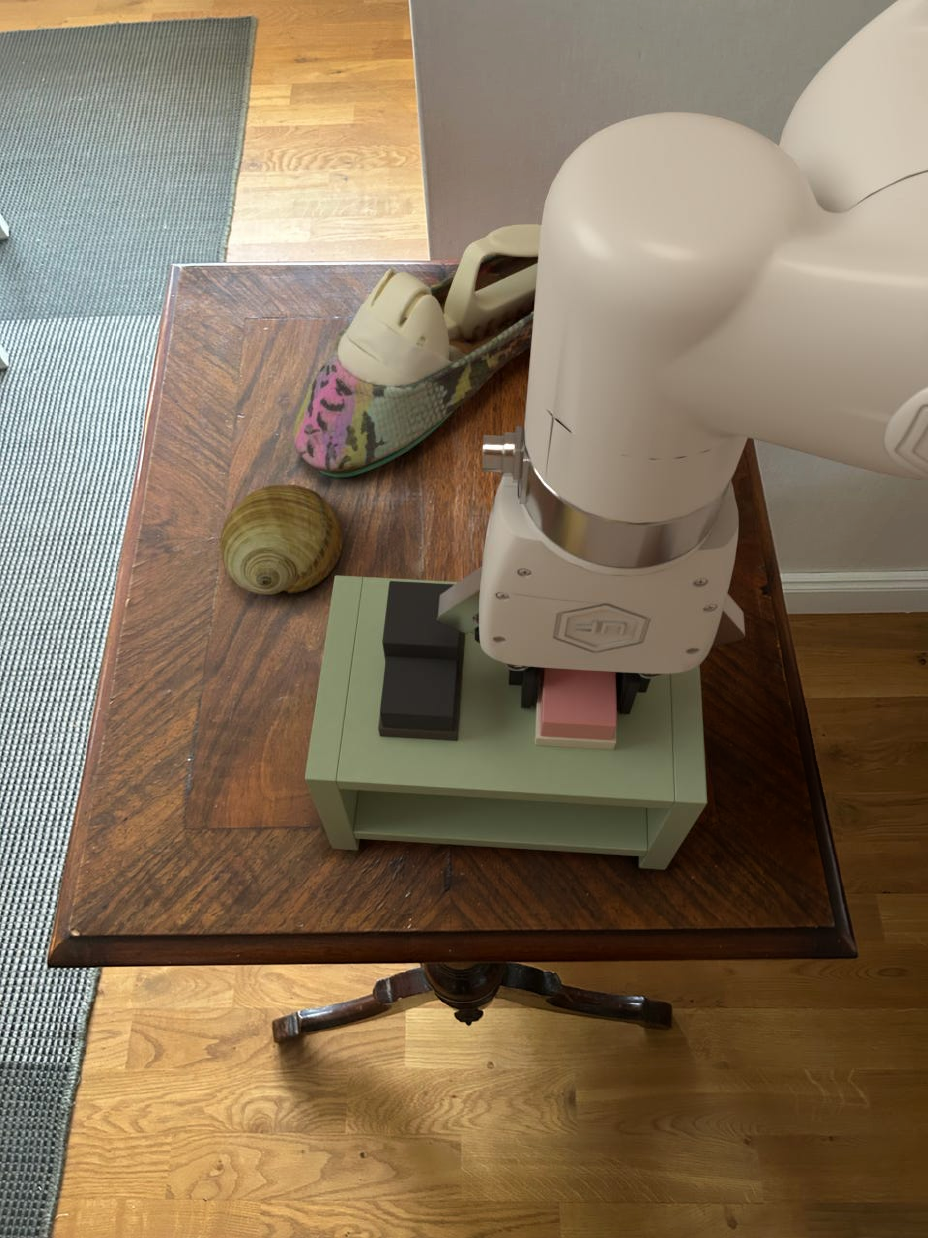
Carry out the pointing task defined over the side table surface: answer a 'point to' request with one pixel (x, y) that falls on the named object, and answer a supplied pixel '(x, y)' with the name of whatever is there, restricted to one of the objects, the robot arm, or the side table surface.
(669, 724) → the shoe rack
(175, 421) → the side table surface
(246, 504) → the seashell
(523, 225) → the ballet flat
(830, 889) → the side table surface
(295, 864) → the side table surface
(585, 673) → the pink stepped block
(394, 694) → the black stepped block
